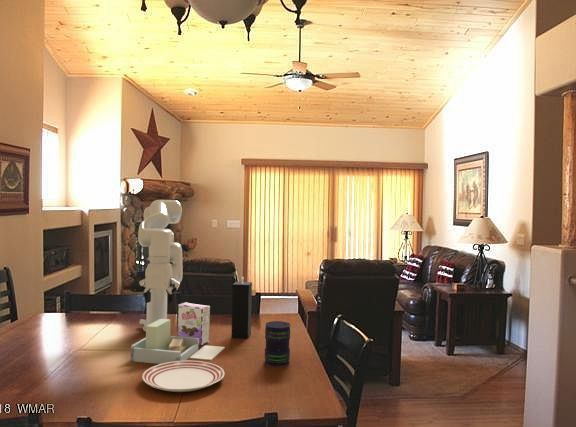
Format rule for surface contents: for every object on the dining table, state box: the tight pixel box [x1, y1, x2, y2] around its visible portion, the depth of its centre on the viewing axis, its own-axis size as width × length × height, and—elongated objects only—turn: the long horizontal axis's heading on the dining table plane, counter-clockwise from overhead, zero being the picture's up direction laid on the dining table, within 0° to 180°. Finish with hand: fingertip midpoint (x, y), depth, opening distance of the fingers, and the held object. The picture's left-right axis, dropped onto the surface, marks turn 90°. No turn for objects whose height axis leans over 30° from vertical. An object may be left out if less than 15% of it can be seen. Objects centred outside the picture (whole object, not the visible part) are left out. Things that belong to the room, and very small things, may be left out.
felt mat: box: [189, 344, 225, 361], centre depth 181 cm, size 9×16×1 cm, turn 169°
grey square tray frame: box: [130, 335, 200, 365], centre depth 177 cm, size 20×19×6 cm
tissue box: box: [231, 276, 253, 339], centre depth 206 cm, size 8×8×28 cm
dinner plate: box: [141, 359, 225, 393], centre depth 151 cm, size 27×27×3 cm
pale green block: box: [145, 318, 171, 350], centre depth 178 cm, size 4×12×13 cm, turn 169°
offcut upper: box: [169, 339, 183, 351], centre depth 176 cm, size 4×10×3 cm, turn 6°
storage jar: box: [264, 320, 291, 368], centre depth 171 cm, size 10×10×15 cm
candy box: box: [177, 301, 211, 346], centre depth 196 cm, size 14×6×16 cm, turn 62°
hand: (159, 302), depth 177 cm, fingers open, 9 cm apart
